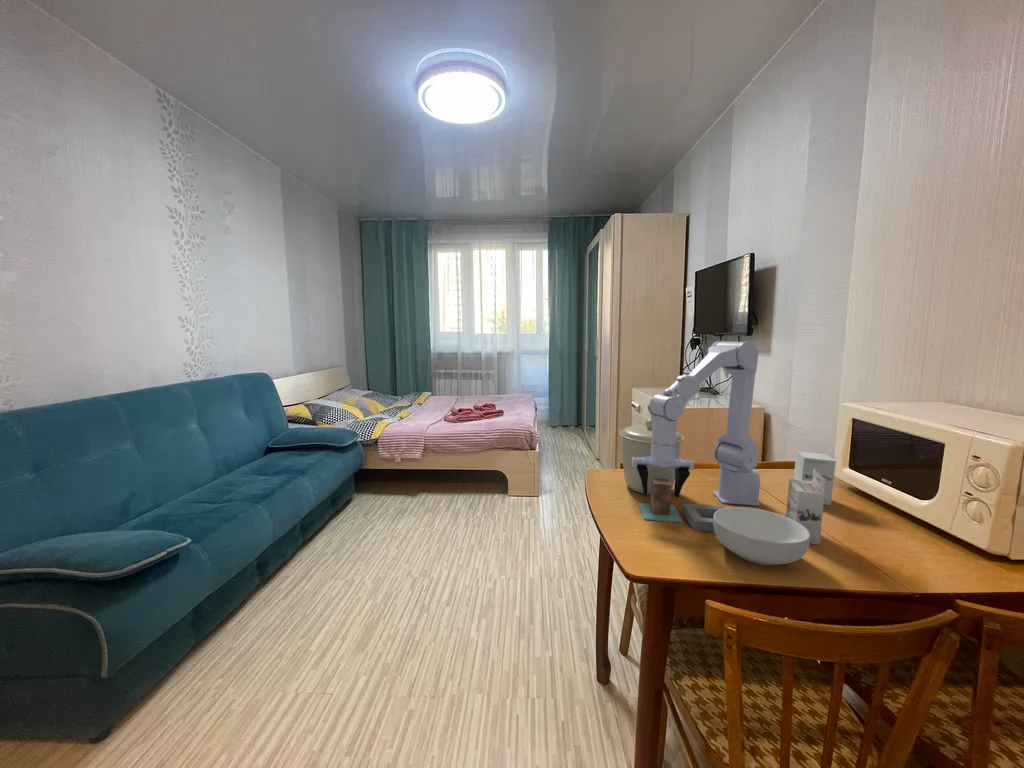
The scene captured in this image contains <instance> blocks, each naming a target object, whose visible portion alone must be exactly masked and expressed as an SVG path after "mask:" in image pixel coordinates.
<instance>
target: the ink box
mask: <svg viewBox="0 0 1024 768" xmlns="http://www.w3.org/2000/svg"><path fill="white" fill-rule="evenodd" d="M817 478H819V480H820V481H821V484H820V482H819V481H818V480H817ZM825 483H826V480H825V479H824V478H823V477H822V476H821V475H820V474H819V473H818V472H817V471H816V470H815V469H813V480H812V482H811V481H803V480H795V479H794V478H789V479H788V489H787V490H788V491H787V500H786V512H785V517H788V518H790V519H792V520H794V521H796V522H798V523H800V524H801V525H803V526H804V527H805V528H806V529H807V530H808V531H809V533H810V543H809V544H812V545H820V544H821V535H822V534H821V533H822V532H821V531H822V523H823V514H824V495H825V494H824V493H825Z"/></svg>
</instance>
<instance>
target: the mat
mask: <svg viewBox="0 0 1024 768" xmlns="http://www.w3.org/2000/svg"><path fill="white" fill-rule="evenodd" d="M638 506H639V509H640V511H641V515H642V518H643V520H645V521H657V522H670V523H671V522H672V523H681V524H682V523H684V521H683V519H682V517H681V516H680V514H679V511H678V510H677V509H676V506H675V505H671V504H670V516H667V515H654V514H653V513H652V511H651V509H650V503H640V502H639V503H638Z"/></svg>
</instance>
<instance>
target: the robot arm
mask: <svg viewBox="0 0 1024 768" xmlns="http://www.w3.org/2000/svg"><path fill="white" fill-rule="evenodd" d="M759 351H760V350H759V349H758V348H757V346H756V345H755V344H754V343H753V342H751V341H748V340H747V341H726V340H725V341H723V340H717V341H715V342H713V344H712V345H711V346H710V347H709V348H707V354H706V355H705V357H704V358H702V360H701V361H700V362H699V363H698V364H697V365H696V366H695V368H694V369H693V370H692V371H691V372H690V373H689V374H682V375H678V376H677V377H676V380H675V381H674V382H672V384H671V385H670V386H669V387H667V388H666V389H664V390H663V392H662V393H661V394H655V395H654V396H653V397H652V398H651V399H650V401H649V404H647V411H648V413H649V415H650V419H651V421H652V440H651V456H650V457H632V465H633V467H637V470H638V472H639V475H640V478H641V482H642V487H643V493H642V494H643V495H644V496H647V495H648V494H647V481H648V473H649V472H648V468H647V467H665V468H675V481H674V485H673V487H674V488H673V495H674V496H675V497H676V498H679V497H680V494H681V491H682V489H683V486H684V485H685V482H686V481H687V480H688V478H689V477H690V475H691V472H690V471H694V470H695V469H694V467H695V462H694V461H693V460H692V459H683V458H679V459H677V458H675V448H676V431H677V432H678V430H677V427H678V419H679V418H681V417H682V416H683V414H684V411H685V408H686V407H687V403H689V401H691V400H692V399H693V398H694V397H695V396H696V395H697V394H698V393H699V392H700V390H701V384H702V383H703V382H704V381H705V380H707V379H708V378H709V377H710V376H712V375H713V374H714V373H715V372H717V371H718V370H719V369H721V368H722V369H724V370H725V371H727V372H728V373H729V374H730V376H731V384H730V385H731V386H730V392H729V402H728V412H727V419H726V420H727V421H726V431H725V432H724V433H722V434H721V435H719V436H718V437H717V442H716V445H715V447H714V451H713V456H714V459H715V460H716V461H717V465H718V466H719V473H718V474H719V477H718V489H717V490H712V493H713V494H714V495H715V497H716V498H717V499H718V500H719V502H721V503H722V504H732V505H745V506H746V505H747V506H760V505H761V504H760V502H759V501H760V499H759V497H760V489H761V487H760V486H761V478H760V473H759V471H758V470H756V469H755V468H757V466H758V463H759V461H760V460H759V453H758V444H757V442H756V441H755V440H754V439H753V438H752V437H751V436H750V434H749V432H750V427H751V425H750V424H751V418H752V417H751V415H752V409H753V408H752V407H753V399H754V391H755V390H754V388H755V379H756V372H757V369H758V368H757V367H758V360H759Z"/></svg>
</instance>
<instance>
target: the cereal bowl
mask: <svg viewBox="0 0 1024 768" xmlns="http://www.w3.org/2000/svg"><path fill="white" fill-rule="evenodd" d="M712 518H713V526H714V531H715V532H714V534H715V536H716V537H717V539H718V541H719V542H720V543H721V544H722V545H723V546H724V547H725V548H726V549H727V550H729V551H731V552H733V553H734V554H736V555H737V556H739V557H741V558H742V559H744V560H746V561H749V562H751V563H754V564H756V565H757V564H758V565H762V566H763V565H764V566H775V565H786V564H790V563H794V562H797V561H799V560H801V559H802V558H803V557H804V556H805V555H806V553H807V552H808V550H809V547H810V544H811V543H810V533H809V531H808V530H807V529H806V528H805V527H804V526H803V525H801V524H800V523H798V522H796V521H794V520H792V519H790V518H788V517H786V515H782V514H779V513H776V512H772V511H769V510H764V509H760V508H755V507H754V508H753V507H745V506H730V507H728V506H727V507H725V508H723V509H719V510H717V511H716V512H715V513H714V515H713V517H712Z"/></svg>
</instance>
